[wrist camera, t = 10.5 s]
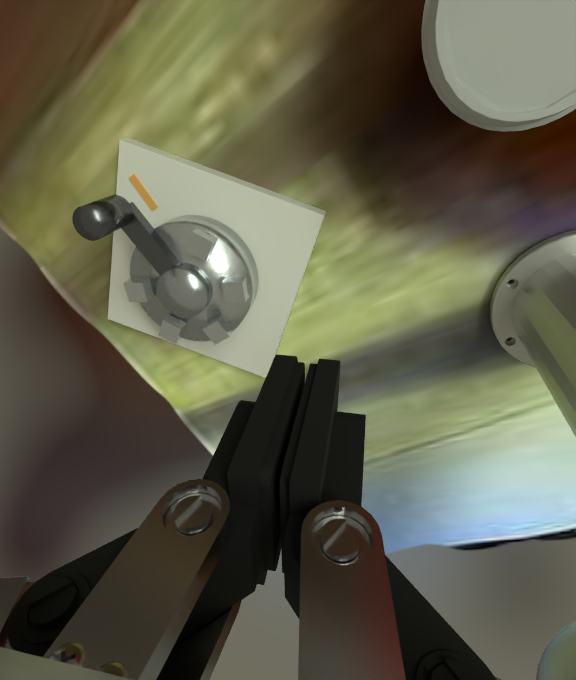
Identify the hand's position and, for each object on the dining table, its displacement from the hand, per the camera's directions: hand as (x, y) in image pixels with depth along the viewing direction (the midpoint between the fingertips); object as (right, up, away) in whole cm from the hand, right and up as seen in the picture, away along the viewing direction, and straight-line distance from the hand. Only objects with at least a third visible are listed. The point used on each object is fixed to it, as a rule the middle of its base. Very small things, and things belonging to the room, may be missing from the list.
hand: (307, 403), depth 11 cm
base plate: (-8, +9, +29) cm, 31 cm away
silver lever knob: (-10, +9, +27) cm, 30 cm away
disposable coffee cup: (+13, +22, +17) cm, 30 cm away
